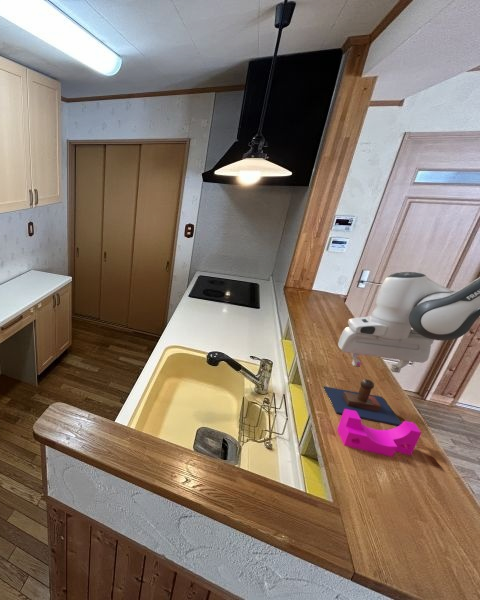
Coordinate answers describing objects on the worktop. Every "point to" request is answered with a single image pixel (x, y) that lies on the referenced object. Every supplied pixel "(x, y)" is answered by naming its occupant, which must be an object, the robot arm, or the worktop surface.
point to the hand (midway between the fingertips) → (374, 368)
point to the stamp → (362, 397)
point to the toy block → (377, 436)
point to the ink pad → (382, 416)
